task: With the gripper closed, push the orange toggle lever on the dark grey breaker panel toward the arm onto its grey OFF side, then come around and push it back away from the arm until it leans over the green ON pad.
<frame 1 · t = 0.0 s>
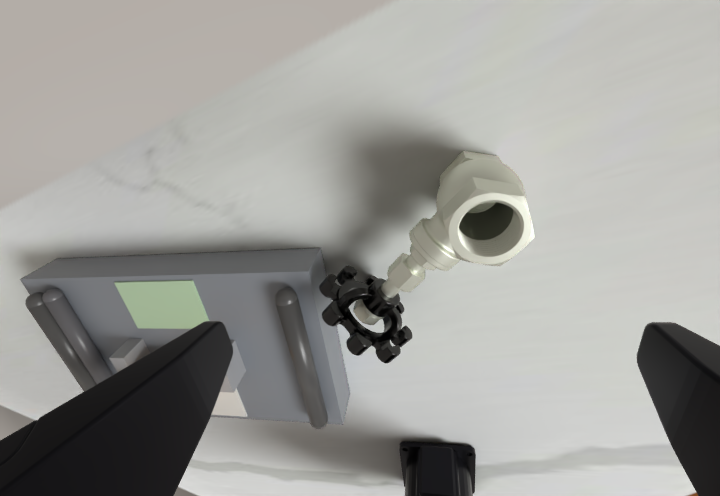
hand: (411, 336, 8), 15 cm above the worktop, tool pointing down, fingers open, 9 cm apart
valve: (426, 226, 23), on the worktop
panel: (208, 328, 30), on the worktop
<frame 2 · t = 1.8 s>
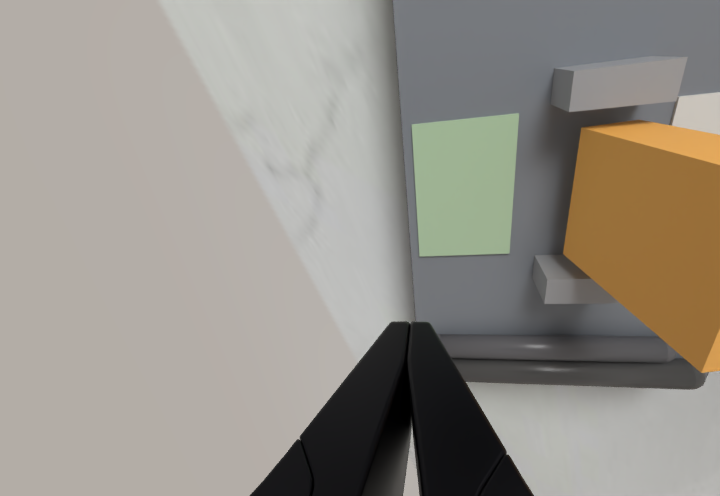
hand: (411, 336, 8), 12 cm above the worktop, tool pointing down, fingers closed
lever: (665, 226, 11), point 7 cm above the worktop, hinge at -12.0°
panel: (558, 164, 17), on the worktop
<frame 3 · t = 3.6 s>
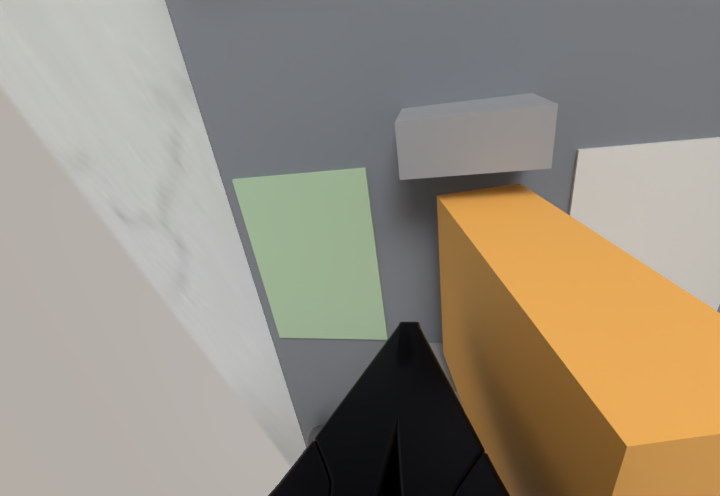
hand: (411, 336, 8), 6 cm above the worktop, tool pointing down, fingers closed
lever: (534, 365, 7), point 7 cm above the worktop, hinge at -13.5°, touching gripper
panel: (459, 219, 13), on the worktop
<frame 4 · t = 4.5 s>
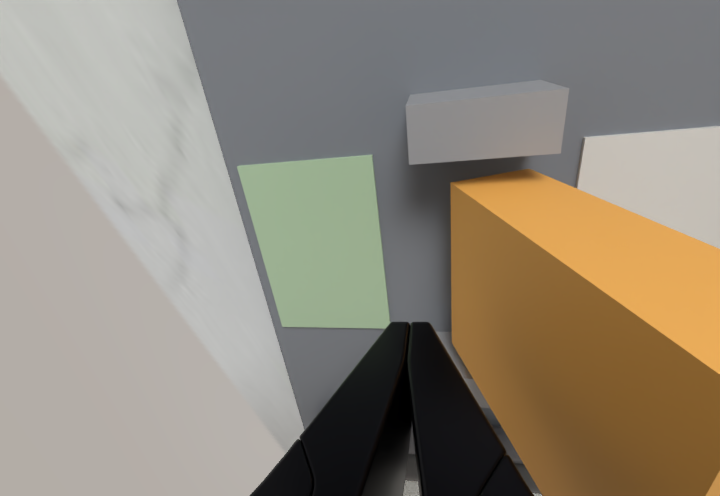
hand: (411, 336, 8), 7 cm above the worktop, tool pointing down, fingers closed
lever: (565, 344, 7), point 7 cm above the worktop, hinge at -19.7°
panel: (462, 209, 13), on the worktop
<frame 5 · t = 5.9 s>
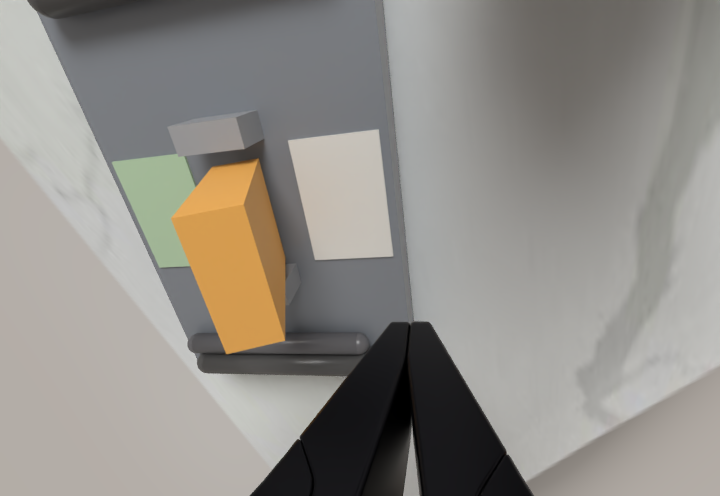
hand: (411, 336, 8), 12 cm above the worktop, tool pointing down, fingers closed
lever: (244, 243, 14), point 7 cm above the worktop, hinge at -19.8°
panel: (275, 188, 20), on the worktop
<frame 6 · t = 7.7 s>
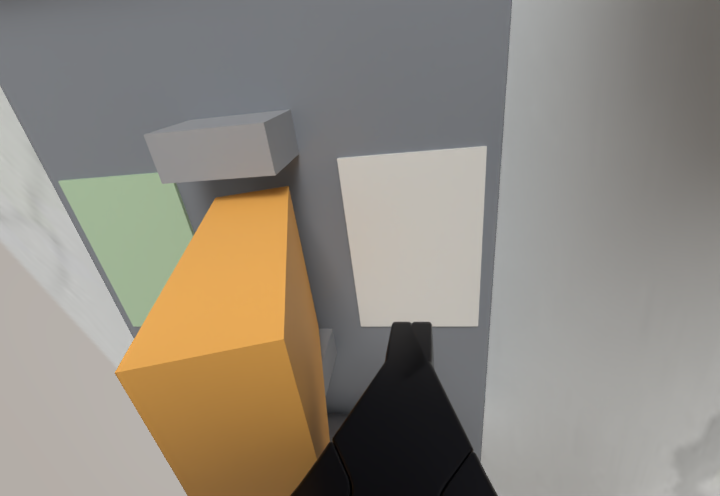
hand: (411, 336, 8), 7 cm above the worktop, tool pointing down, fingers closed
lever: (266, 337, 8), point 7 cm above the worktop, hinge at -17.0°, touching gripper
panel: (299, 217, 15), on the worktop
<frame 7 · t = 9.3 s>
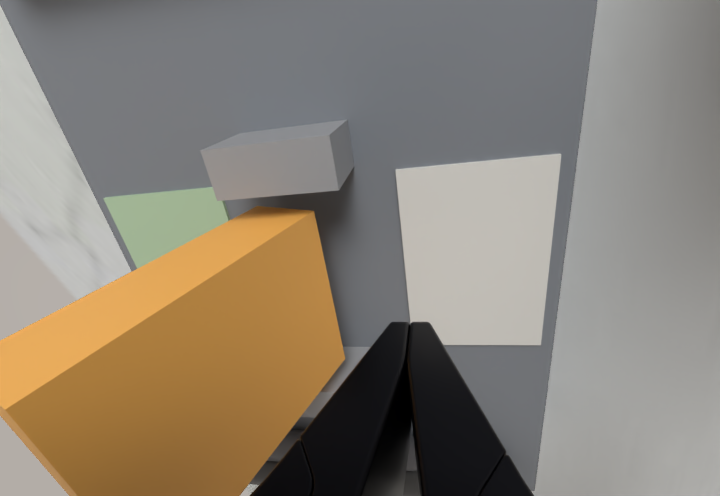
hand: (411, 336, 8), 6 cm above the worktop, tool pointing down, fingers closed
lever: (219, 360, 8), point 7 cm above the worktop, hinge at 20.9°
panel: (341, 229, 14), on the worktop
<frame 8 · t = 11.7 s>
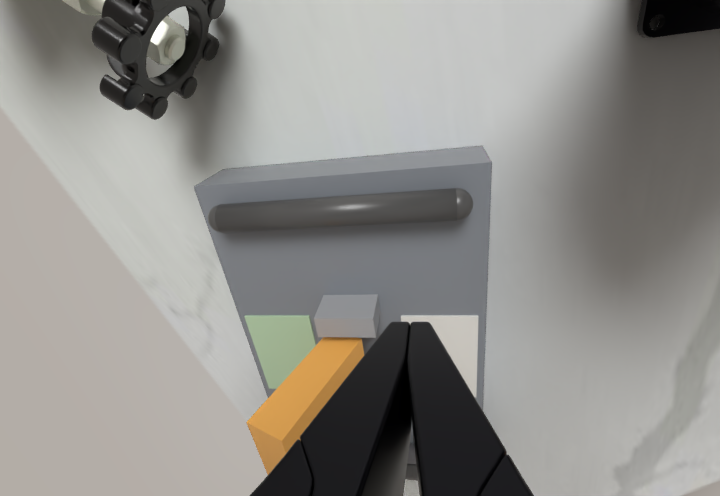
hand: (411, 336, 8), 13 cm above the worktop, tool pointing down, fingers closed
lever: (319, 411, 18), point 7 cm above the worktop, hinge at 21.0°
panel: (368, 322, 24), on the worktop
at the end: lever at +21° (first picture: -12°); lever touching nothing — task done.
